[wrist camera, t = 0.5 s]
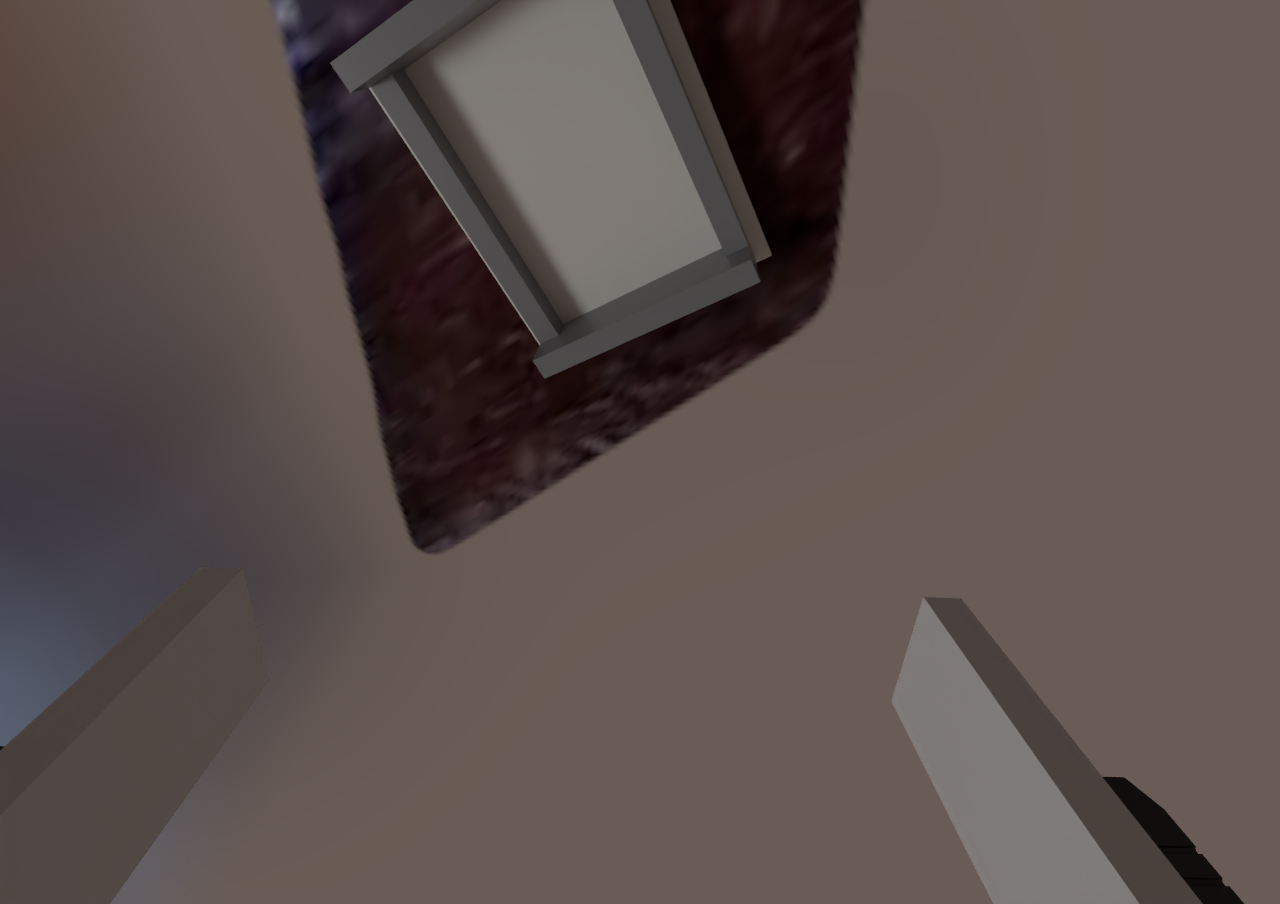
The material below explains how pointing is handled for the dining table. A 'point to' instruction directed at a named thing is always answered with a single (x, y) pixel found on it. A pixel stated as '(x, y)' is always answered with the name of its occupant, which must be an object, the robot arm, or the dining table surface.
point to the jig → (570, 159)
